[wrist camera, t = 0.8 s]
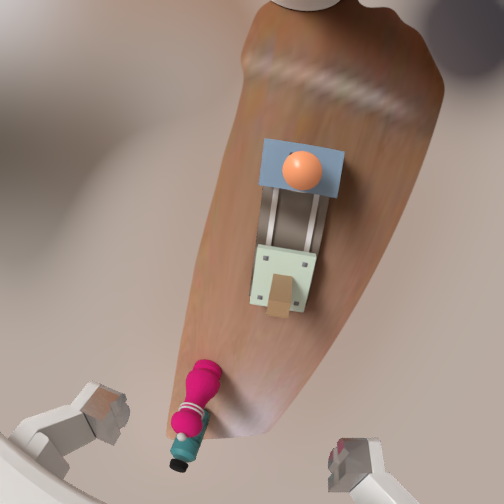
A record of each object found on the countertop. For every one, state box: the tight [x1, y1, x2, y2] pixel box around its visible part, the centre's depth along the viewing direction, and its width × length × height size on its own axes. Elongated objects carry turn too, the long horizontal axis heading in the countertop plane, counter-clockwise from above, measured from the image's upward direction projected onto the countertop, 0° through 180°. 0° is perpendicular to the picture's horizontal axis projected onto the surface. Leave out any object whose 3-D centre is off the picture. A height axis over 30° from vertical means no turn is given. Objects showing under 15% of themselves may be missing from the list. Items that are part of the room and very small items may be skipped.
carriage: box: [250, 244, 316, 319], centre depth 42 cm, size 10×9×10 cm
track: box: [249, 186, 330, 306], centre depth 45 cm, size 20×10×2 cm, turn 173°
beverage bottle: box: [170, 410, 210, 473], centre depth 57 cm, size 6×7×20 cm
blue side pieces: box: [259, 139, 345, 198], centre depth 38 cm, size 6×10×8 cm, turn 83°
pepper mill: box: [171, 360, 222, 441], centre depth 50 cm, size 7×7×20 cm
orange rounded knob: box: [282, 151, 322, 190], centre depth 33 cm, size 4×4×5 cm
